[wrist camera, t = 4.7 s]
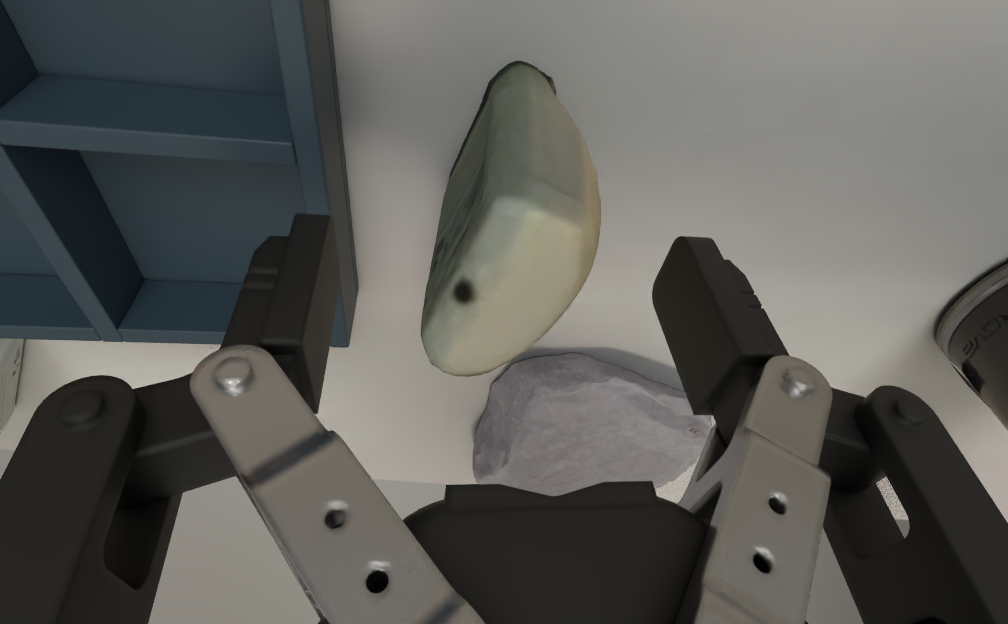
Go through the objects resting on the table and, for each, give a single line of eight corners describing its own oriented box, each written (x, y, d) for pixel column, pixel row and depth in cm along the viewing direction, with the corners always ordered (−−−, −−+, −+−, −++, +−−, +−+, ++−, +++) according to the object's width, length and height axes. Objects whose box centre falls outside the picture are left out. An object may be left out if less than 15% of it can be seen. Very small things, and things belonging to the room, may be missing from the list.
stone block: (506, 317, 26) (461, 448, 32) (524, 386, 22) (470, 521, 28) (706, 343, 30) (634, 457, 35) (752, 406, 26) (663, 522, 31)
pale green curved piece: (395, 53, 15) (364, 233, 10) (578, 22, 15) (651, 190, 9) (440, 214, 19) (436, 401, 14) (582, 192, 19) (635, 374, 14)
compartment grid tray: (297, -306, 10) (258, -315, 8) (358, 289, 22) (349, 348, 20) (-846, -527, 8) (-1318, -620, 6) (-89, 270, 20) (-153, 335, 17)
